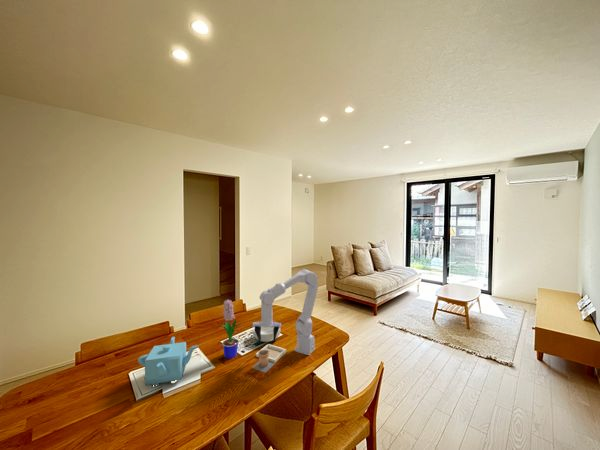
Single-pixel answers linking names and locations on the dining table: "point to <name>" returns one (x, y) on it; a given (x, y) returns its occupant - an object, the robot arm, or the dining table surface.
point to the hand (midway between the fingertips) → (267, 340)
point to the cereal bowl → (266, 334)
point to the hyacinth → (229, 331)
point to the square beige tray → (273, 352)
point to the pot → (263, 358)
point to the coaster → (263, 369)
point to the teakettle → (165, 362)
